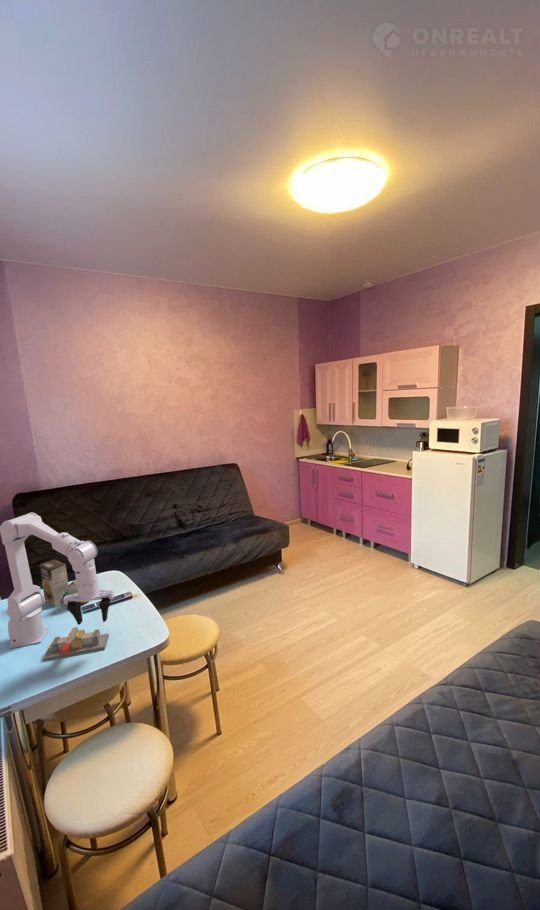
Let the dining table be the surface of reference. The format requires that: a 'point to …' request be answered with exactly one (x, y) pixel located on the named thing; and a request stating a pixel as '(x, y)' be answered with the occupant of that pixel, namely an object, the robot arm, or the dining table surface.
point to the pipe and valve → (77, 640)
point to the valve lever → (69, 641)
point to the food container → (72, 590)
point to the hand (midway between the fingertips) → (92, 621)
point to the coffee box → (54, 581)
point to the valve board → (85, 649)
